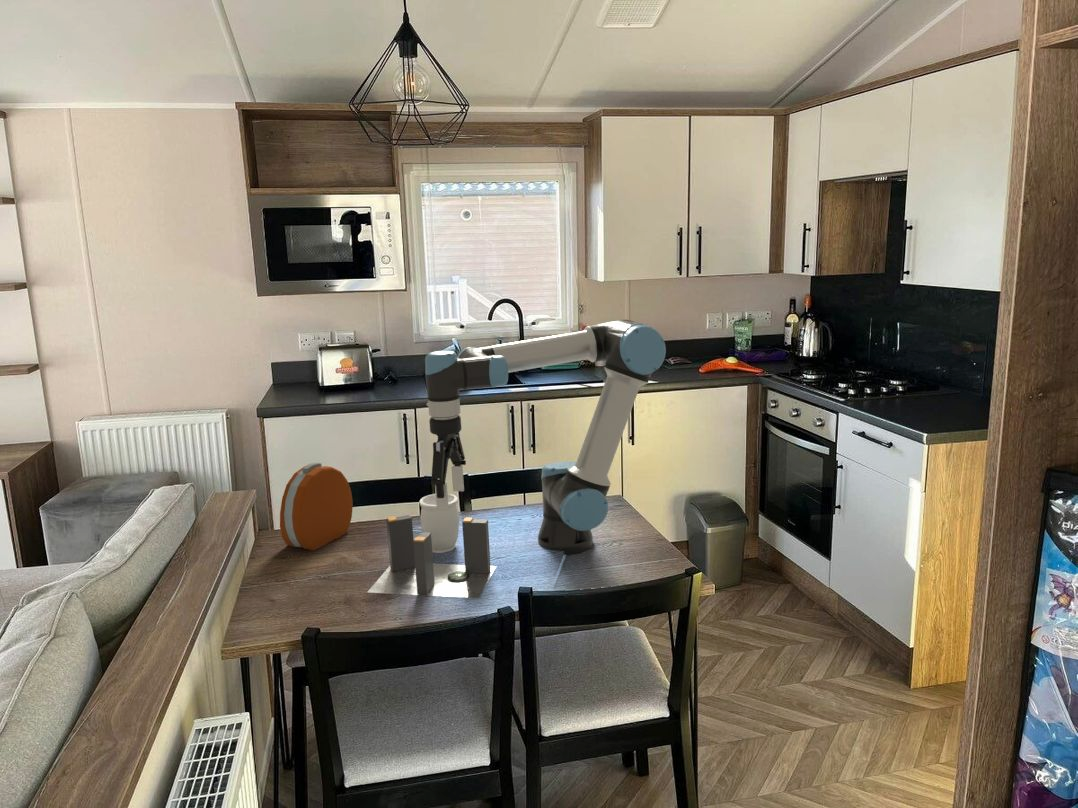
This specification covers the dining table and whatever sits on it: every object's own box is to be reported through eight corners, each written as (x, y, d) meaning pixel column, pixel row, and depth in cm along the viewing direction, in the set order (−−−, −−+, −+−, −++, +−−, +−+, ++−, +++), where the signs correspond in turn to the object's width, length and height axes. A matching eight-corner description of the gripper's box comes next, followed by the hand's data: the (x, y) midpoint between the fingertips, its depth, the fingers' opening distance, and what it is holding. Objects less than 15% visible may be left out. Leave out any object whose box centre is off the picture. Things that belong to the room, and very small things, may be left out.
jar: (454, 559, 218) (451, 506, 215) (417, 557, 220) (413, 505, 217) (465, 544, 228) (462, 493, 225) (430, 542, 230) (426, 492, 227)
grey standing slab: (425, 583, 201) (421, 530, 198) (434, 584, 201) (430, 530, 198) (417, 594, 196) (413, 540, 192) (427, 595, 195) (423, 540, 192)
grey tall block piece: (490, 569, 208) (487, 518, 205) (488, 573, 206) (485, 521, 203) (467, 568, 209) (464, 517, 206) (465, 572, 207) (462, 520, 204)
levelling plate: (496, 570, 210) (496, 563, 210) (479, 602, 193) (478, 594, 193) (393, 566, 215) (392, 558, 215) (367, 596, 198) (366, 589, 198)
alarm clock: (330, 523, 248) (323, 451, 243) (355, 528, 243) (349, 455, 238) (276, 550, 229) (267, 473, 224) (303, 555, 224) (295, 477, 219)
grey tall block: (412, 563, 213) (409, 513, 210) (415, 566, 211) (411, 516, 208) (390, 568, 211) (386, 517, 208) (392, 571, 209) (388, 520, 206)
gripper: (444, 403, 208) (450, 483, 213) (412, 429, 184) (420, 518, 189) (473, 403, 207) (478, 483, 211) (444, 429, 183) (451, 518, 188)
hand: (451, 500), depth 200 cm, fingers open, 13 cm apart
